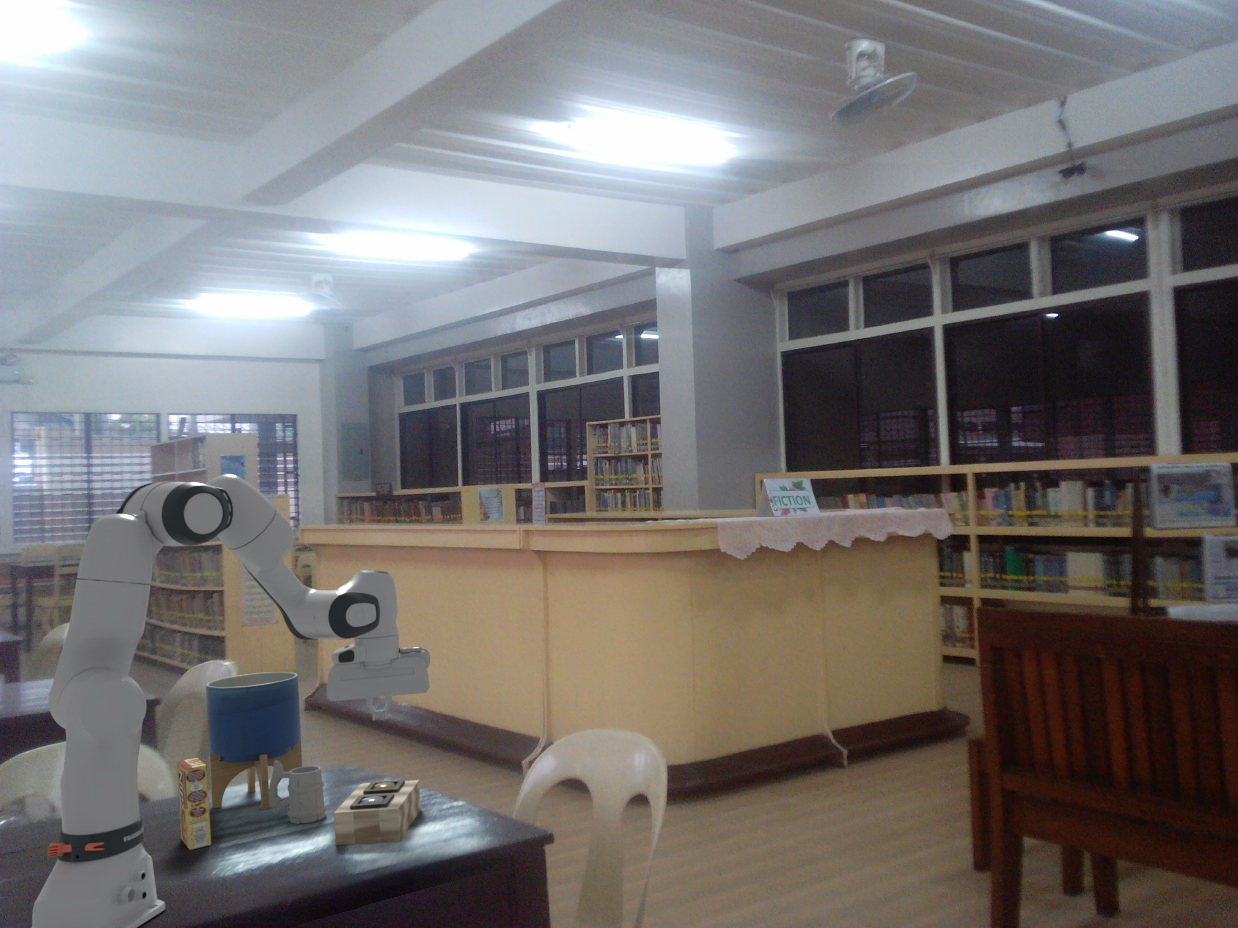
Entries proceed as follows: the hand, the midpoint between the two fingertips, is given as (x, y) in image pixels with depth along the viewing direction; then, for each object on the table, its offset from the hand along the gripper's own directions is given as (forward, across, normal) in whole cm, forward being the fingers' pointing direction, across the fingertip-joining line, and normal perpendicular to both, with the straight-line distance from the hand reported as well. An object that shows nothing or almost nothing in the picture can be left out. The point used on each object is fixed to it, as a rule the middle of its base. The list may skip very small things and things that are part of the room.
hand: (380, 719), depth 210 cm
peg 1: (+20, +2, +10) cm, 22 cm away
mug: (+20, +17, -8) cm, 28 cm away
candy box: (+20, +36, 0) cm, 41 cm away
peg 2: (+20, 0, 0) cm, 20 cm away
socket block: (+20, +1, +5) cm, 20 cm away
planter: (+20, +27, -28) cm, 44 cm away
